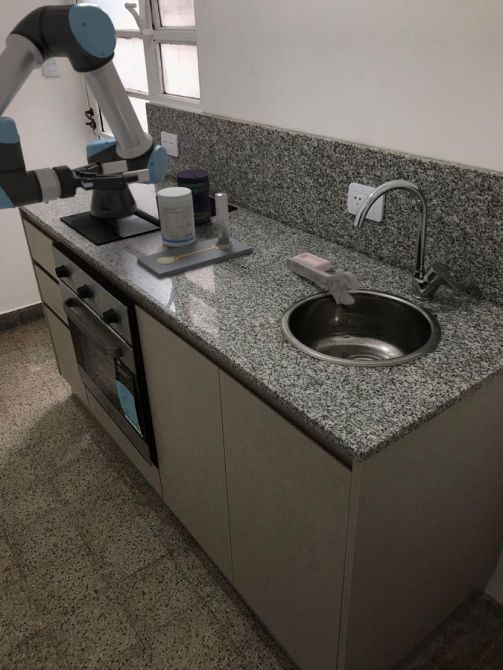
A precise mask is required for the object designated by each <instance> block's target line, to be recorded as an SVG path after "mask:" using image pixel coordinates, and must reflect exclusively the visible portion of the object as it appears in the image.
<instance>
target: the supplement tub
mask: <svg viewBox="0 0 503 670" xmlns="http://www.w3.org/2000/svg"><path fill="white" fill-rule="evenodd" d="M156 193H157V194H156V195H157V205H158V214H159V222H160V223H159V224H160V232H161V239H162V243H163V244H164V245H165V246H168V247H170V248H171V247H172V248H179V247H182V246H186V245H190V244H194V243H195V241H196V229H195V228H196V227H195V226H194V213H193V201H192V195H191V190H190V189H188V188H184V187H177V186H172V187H166V188H162V189H160V190H159V191H157V192H156Z"/></svg>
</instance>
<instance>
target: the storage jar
mask: <svg viewBox="0 0 503 670" xmlns="http://www.w3.org/2000/svg"><path fill="white" fill-rule="evenodd" d="M209 176H210V173H209V172H208V171H206V170H203V169H202V170H201V169H187V170H182V171H179V172H177V173H176V187H184V188H188V189H190V190H191V195H192V201H193V213H194V226H195V228H196V227H197V228H198V227H199V228H200V227H205V226H208V225H209V223H210V222H212V219H211V216H212V215H211V214H212V210H211V209H212V208H211V203H210V178H209ZM210 224H211V223H210Z"/></svg>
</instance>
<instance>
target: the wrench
mask: <svg viewBox="0 0 503 670" xmlns="http://www.w3.org/2000/svg"><path fill="white" fill-rule="evenodd" d="M285 266H286V268H287V269H288V270H290V271H291V272H293V273H295V274H297V275H299V276H302V277H304V278H306V279H307V280H310V281H312V282H314V283H316V284H318V285H320V286H322V287H323V288H326V289H327V290H328V291H329V292H330V294H331V295H332V296H333V298H334V300H335V302H336V305H342V304H343V305H345V306H348V305H354V303H355V299H354V297H353V296H352V295H351V294H350V293H349V291H348V288H349V289H350V290H351V291H358V290H360V284H359V281H358V279H357V277H356V276H355V274H354V273H352V271H344V272H340V273H337V274H333V275H332V274H330V273H328V272H326V271H322V270H320V269H318V268H316V267H313V266H311V265H309V264H307V263H305V262H303V261H301V260H298V259H296V258H294V256H293V257H287V258H286V259H285Z"/></svg>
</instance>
